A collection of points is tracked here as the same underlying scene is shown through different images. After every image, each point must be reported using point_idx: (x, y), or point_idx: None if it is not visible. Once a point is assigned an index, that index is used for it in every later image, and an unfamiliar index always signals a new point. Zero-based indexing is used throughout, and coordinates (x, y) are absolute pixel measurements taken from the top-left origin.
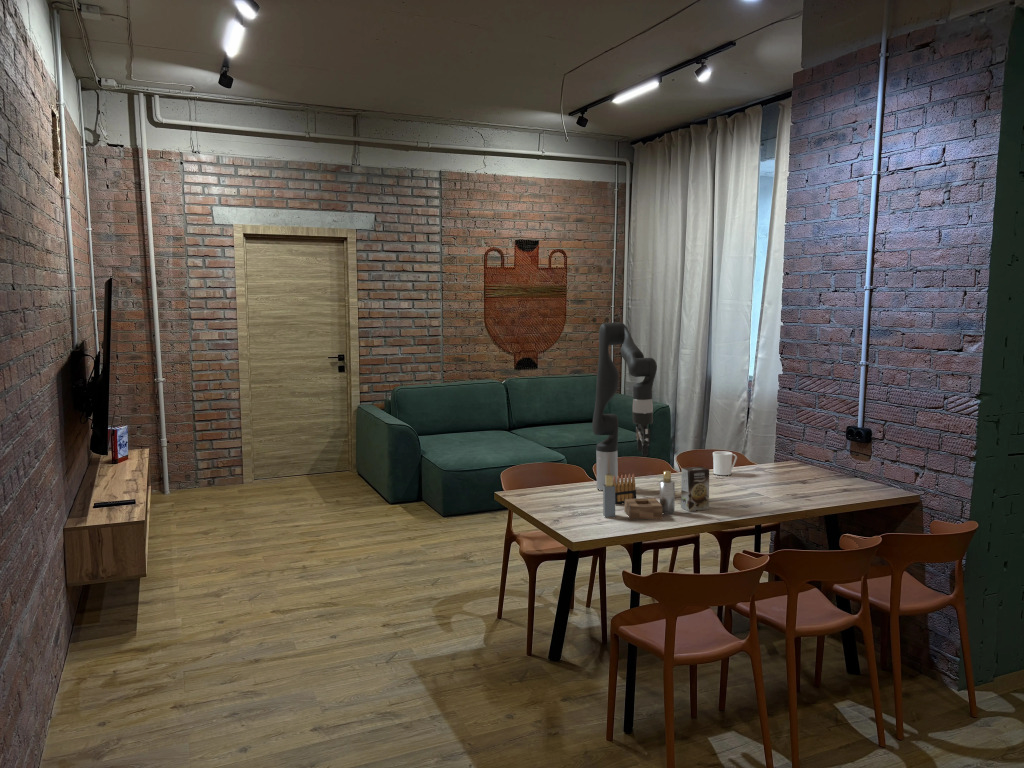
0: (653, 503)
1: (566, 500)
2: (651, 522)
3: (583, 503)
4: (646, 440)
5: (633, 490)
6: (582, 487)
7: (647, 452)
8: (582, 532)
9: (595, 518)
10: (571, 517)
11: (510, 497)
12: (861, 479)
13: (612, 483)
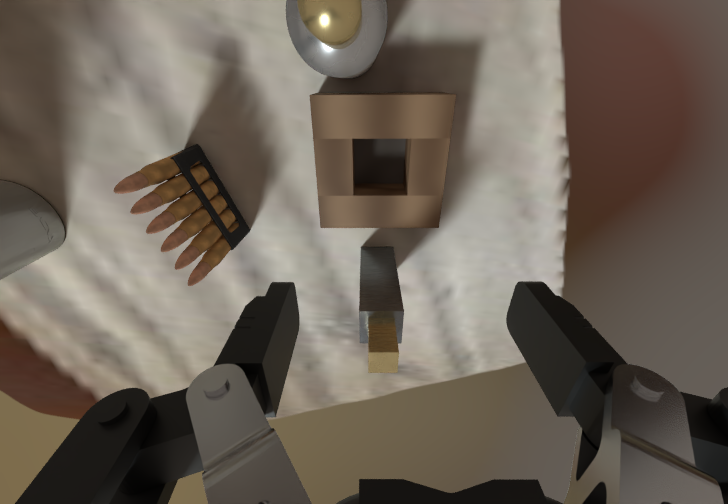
0: (405, 126)
1: (210, 338)
2: (470, 145)
3: (237, 305)
4: (607, 448)
5: (181, 169)
6: (37, 288)
7: (576, 310)
8: (503, 333)
9: None
10: None
11: None
12: None
13: (395, 326)
